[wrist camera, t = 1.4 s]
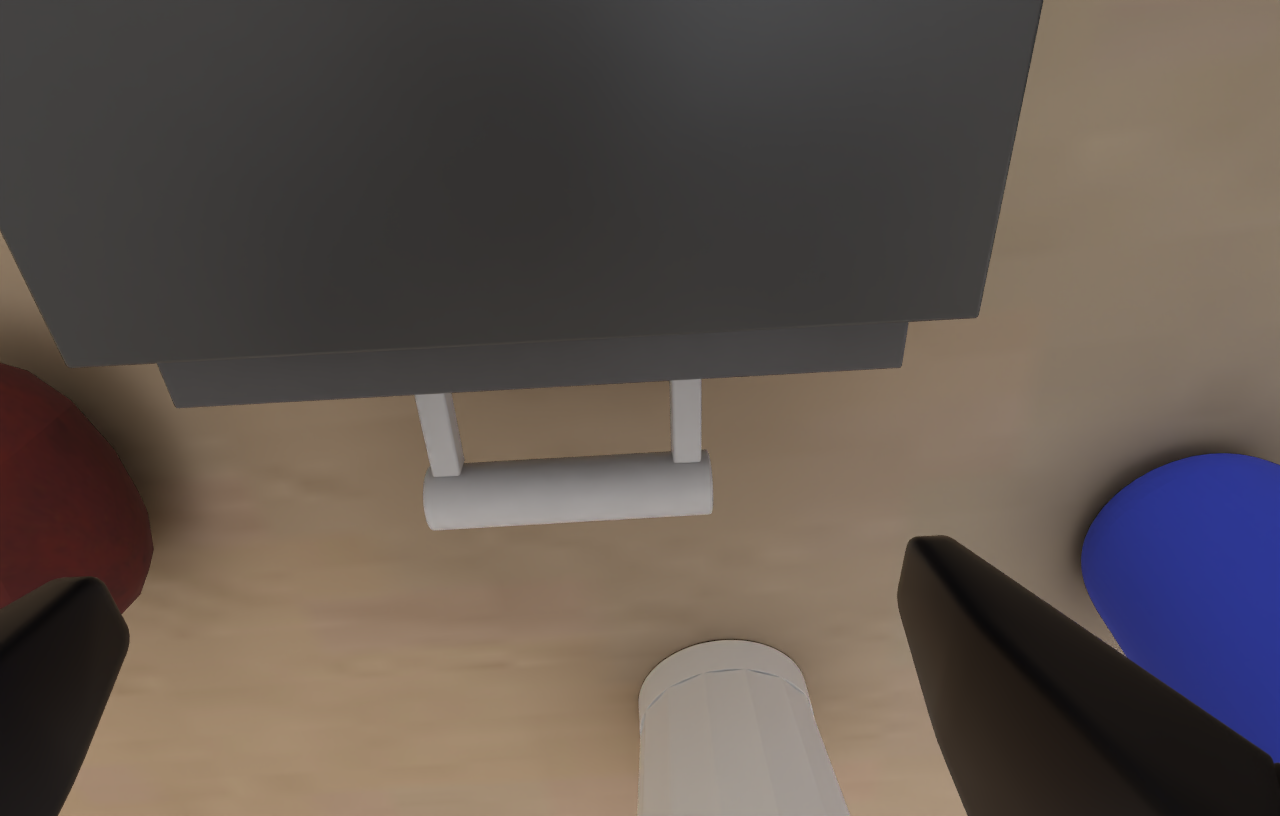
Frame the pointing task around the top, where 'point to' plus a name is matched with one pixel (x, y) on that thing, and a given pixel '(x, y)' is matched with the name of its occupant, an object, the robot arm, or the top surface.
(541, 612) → the top surface
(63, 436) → the potato
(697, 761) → the cup
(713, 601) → the top surface
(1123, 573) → the mug
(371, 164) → the dark grey lidded case
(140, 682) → the top surface
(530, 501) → the drawer
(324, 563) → the top surface
